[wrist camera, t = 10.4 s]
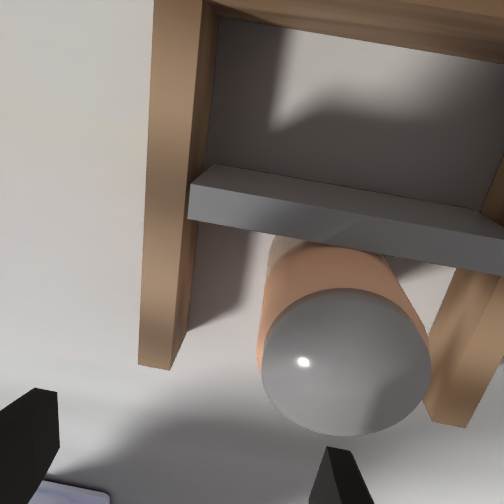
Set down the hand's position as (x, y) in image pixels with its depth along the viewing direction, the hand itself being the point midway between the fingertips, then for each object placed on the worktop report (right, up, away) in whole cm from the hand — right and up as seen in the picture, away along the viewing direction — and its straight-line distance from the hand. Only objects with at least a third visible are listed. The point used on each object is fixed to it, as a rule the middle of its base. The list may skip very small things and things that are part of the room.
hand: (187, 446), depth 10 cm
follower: (+5, +7, +6) cm, 11 cm away
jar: (+5, +5, +8) cm, 10 cm away
